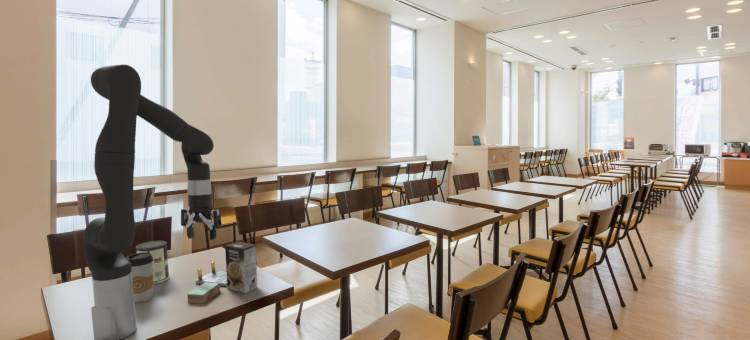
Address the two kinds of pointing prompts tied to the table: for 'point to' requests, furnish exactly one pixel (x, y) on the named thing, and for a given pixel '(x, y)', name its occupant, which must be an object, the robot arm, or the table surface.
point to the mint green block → (203, 292)
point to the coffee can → (157, 259)
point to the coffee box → (241, 266)
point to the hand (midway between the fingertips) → (201, 238)
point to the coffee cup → (142, 275)
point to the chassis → (213, 276)
